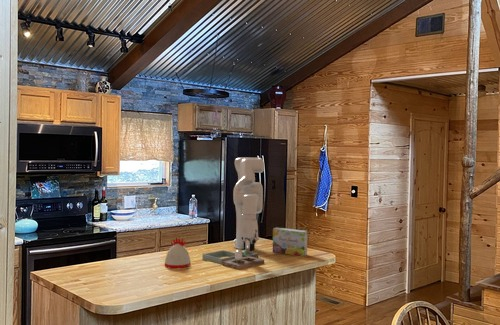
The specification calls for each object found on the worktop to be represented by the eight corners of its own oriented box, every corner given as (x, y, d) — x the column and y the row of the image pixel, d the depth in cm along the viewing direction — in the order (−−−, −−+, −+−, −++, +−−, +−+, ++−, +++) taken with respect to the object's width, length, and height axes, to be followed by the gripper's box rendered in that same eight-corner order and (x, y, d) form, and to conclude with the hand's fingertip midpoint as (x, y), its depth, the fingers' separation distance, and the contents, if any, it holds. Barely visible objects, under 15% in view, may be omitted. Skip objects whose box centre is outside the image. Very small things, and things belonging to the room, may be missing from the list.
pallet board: (222, 267, 261) (222, 261, 261) (248, 261, 276) (248, 256, 276) (238, 271, 253) (238, 265, 253) (264, 265, 267) (264, 259, 267)
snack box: (272, 252, 300) (272, 228, 299) (275, 251, 305) (276, 227, 304) (304, 256, 290) (304, 231, 289) (307, 254, 295) (308, 230, 294)
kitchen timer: (185, 269, 256) (185, 240, 256) (160, 267, 259) (161, 239, 259) (193, 263, 270) (194, 236, 269) (170, 261, 273) (170, 235, 272)
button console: (236, 258, 282) (236, 253, 282) (247, 256, 288) (247, 251, 288) (247, 261, 276) (247, 256, 276) (258, 258, 282) (258, 253, 282)
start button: (241, 257, 282) (242, 250, 282) (247, 256, 285) (247, 249, 285) (247, 258, 279) (247, 251, 279) (252, 257, 282) (252, 250, 282)
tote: (202, 260, 276) (202, 254, 276) (223, 256, 288) (223, 250, 288) (221, 265, 265) (221, 259, 265) (242, 260, 276) (242, 254, 276)
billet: (243, 253, 267) (243, 238, 267) (248, 252, 270) (249, 237, 269) (248, 254, 264) (249, 239, 264) (254, 253, 267) (254, 238, 267)
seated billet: (233, 265, 261) (233, 250, 261) (238, 264, 264) (238, 249, 264) (238, 266, 259) (238, 251, 258) (243, 265, 262) (243, 250, 261)
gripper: (234, 216, 270) (233, 248, 270) (255, 219, 258) (255, 253, 258) (243, 214, 275) (243, 247, 275) (265, 218, 263) (264, 251, 264)
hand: (249, 249), depth 267 cm, fingers closed on billet, 4 cm apart
